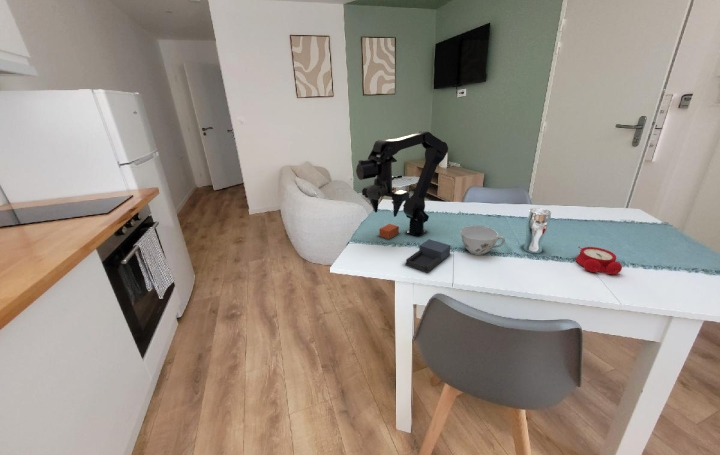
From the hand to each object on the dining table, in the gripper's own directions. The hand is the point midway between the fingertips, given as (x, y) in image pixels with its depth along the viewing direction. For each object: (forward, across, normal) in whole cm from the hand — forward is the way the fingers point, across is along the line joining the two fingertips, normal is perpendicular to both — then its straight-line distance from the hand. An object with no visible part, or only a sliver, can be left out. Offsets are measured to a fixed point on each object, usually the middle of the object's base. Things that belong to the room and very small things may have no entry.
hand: (385, 214), depth 114 cm
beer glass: (+13, +48, +25) cm, 56 cm away
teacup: (+12, +34, +13) cm, 38 cm away
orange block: (+12, -2, +6) cm, 13 cm away
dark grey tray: (+12, +21, -4) cm, 25 cm away
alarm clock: (+13, +67, +24) cm, 72 cm away
